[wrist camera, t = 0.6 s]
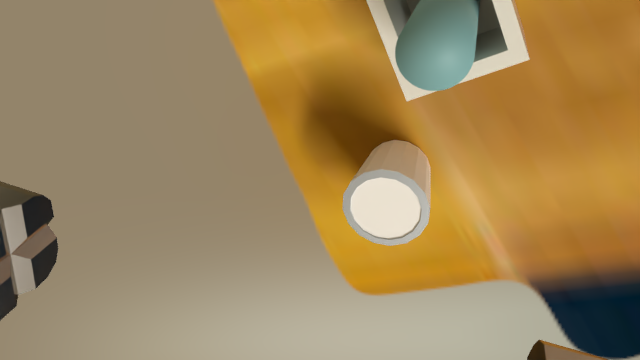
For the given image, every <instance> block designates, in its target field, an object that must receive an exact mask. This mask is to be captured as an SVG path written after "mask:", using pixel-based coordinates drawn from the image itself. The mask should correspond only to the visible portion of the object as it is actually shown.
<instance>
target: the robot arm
mask: <svg viewBox="0 0 640 360" xmlns="http://www.w3.org/2000/svg"><path fill="white" fill-rule="evenodd" d="M53 217H54V215H53V209H52V204H51V200H50V199H48V198H47V197H45V196H44V195H41V194H38V193H35V192H32V191H29V190H26V189H23V188H20V187H16V186H13V185H10V184H7V183H4V182H1V181H0V320H1V319H3V318H4V317H5V316H6V315H7V314H8V313H9V312H10V311H11V310H13V309H14V308H15V307H16V306H17V299H18V295H19V294H22V293H24V292H27V291H30V290H33V289H36V288H37V287H38V286H39V285H40V284H41V283H42V282H43V281H44V280H45V279H46V278H47V277H48V276H49V274H50V272H51V270H52V268H53V266H54V265H55V263H56V259H57V253H58V243H57V237H56V236H55V234H54V233H53V232H52V230H51V229H50V227H49V226H48V224H49V222H50V221H51V220H52V219H53ZM527 360H608V359H605V358H602V357H598V356H595V355H591V354H588V353H584V352H581V351H577V350H574V349H570V348H566V347H563V346H559V345H556V344H552V343H549V342H545V341H542V340H538V341H537V342H536V343H535V344H534V345H533V347H532V349H531V351H530V353H529V355H528V357H527Z"/></svg>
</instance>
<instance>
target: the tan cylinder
mask: <svg viewBox="0 0 640 360" xmlns="http://www.w3.org/2000/svg"><path fill="white" fill-rule="evenodd" d="M343 211H344V214H345V216H346V219H347V221H348V223H349V225H350V226H351V227H352V228H353V229H354V230H355V231H356V232H357V233H358V234H359V235H360V236H362V237H364V238H366V239H368V240H370V241H371V242H373V243H378V244H384V245H389V246H391V245H398V244H404V243H407V242H409V241H411V240H412V239H414V238H416V237H418V236H419V235H420V234H421V233H422V231H423V230H424V228H425V227H426V225H427V224H428V220H429V213H430V165H429V162H428V159H427V156H426V155H425V154H424V153H423V152H422V151H421V149H420V148H419V147H417V146H415V145H413V144H411V143H409V142H407V141H400V140H392V141H388V142H384V143H382V144H380V145H379V146H377V147H376V148H375V149H373V151H372V152H371V153H370V155H369V156H368V158H367V159H366V161H365V162H364V164H363V165H362V166H361V168H360V169H359V171H358V172H357V174H356V175H355V176H354V178H353V179H352V181H351V182H350V184H349V186H348V188H347V189H346V191H345V193H344V195H343Z"/></svg>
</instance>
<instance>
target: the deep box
mask: <svg viewBox="0 0 640 360" xmlns="http://www.w3.org/2000/svg"><path fill="white" fill-rule="evenodd" d="M366 1H367V3H368V6H369V8H370V11H371V13H372V16H373V18H374V21H375V23H376V26H377V28H378V31H379V33H380V36H381V38H382V41H383V43H384V46H385V48H386V51H387V53H388V56H389V58H390V61H391V63H392V66H393V68H394V71H395V73H396V76H397V78H398V81H399V83H400V86H401V88H402V91H403V93H404V96H405V98H406V101H409V100H412V99H415V98H418V97H421V96H424V95H427V94H430V93H433V92H435V91H429V90H424V89H421V88H418V87H416V86H414V85H412V84H411V83H410V82H408V81H407V80H406V79H405V78H404V77H403V75H402V74H401V72H400V71H399V68H398V66H397V63H396V58H395V47H396V43H397V40H398V37H399V35H400V33H401V32H402V30H403V28H404V26H405V25H406V23H407V21H408V20H409V18H410V16H411V14H412V13H413V11H414V9H415V8H416V6H417V4H418V3H419V1H420V0H366ZM527 60H530V59H529V54H528V49H527V45H526V40H525V35H524V30H523V26H522V23H521V20H520V17H519V13H518V10H517V7H516V3H515V0H480V7H479V18H478V28H477V38H476V49H475V57H474V62H473V65H472V67H471V69H470V71H469V73H468V74H467V75H466V76H465V78H464V79H463V80H462V81H460V82H459V83H462V82H465V81H468V80H471V79H474V78H477V77H480V76H483V75H486V74H488V73H491V72H494V71H497V70H500V69H503V68H506V67H509V66H512V65H515V64H518V63H521V62H524V61H527ZM459 83H458V84H459Z"/></svg>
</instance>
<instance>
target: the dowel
mask: <svg viewBox="0 0 640 360" xmlns="http://www.w3.org/2000/svg"><path fill="white" fill-rule="evenodd" d="M479 7H480V0H420V1H419V3H418V4H417V6H416V8H415V9H414V11H413V13H412V14H411V16H410V18H409V20H408V21H407V23H406V25H405V26H404V28H403V30H402V32H401V33H400V35H399V37H398V40H397V43H396V47H395V58H396V63H397V66H398V68H399V71H400V72H401V74H402V75H403V77H404V78H405V79H406V80H407V81H408V82H410V83H411V84H412V85H414V86H416V87H418V88H421V89H424V90H429V91H439V90H445V89H448V88H450V87H453V86H454V85H456V84H458V83H459V82H460V81H462V80H463V79H464V78H465V76H466V75H467V74H468V73H469V71H470V69H471V67H472V65H473V62H474V57H475V49H476V38H477V28H478V18H479Z"/></svg>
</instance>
